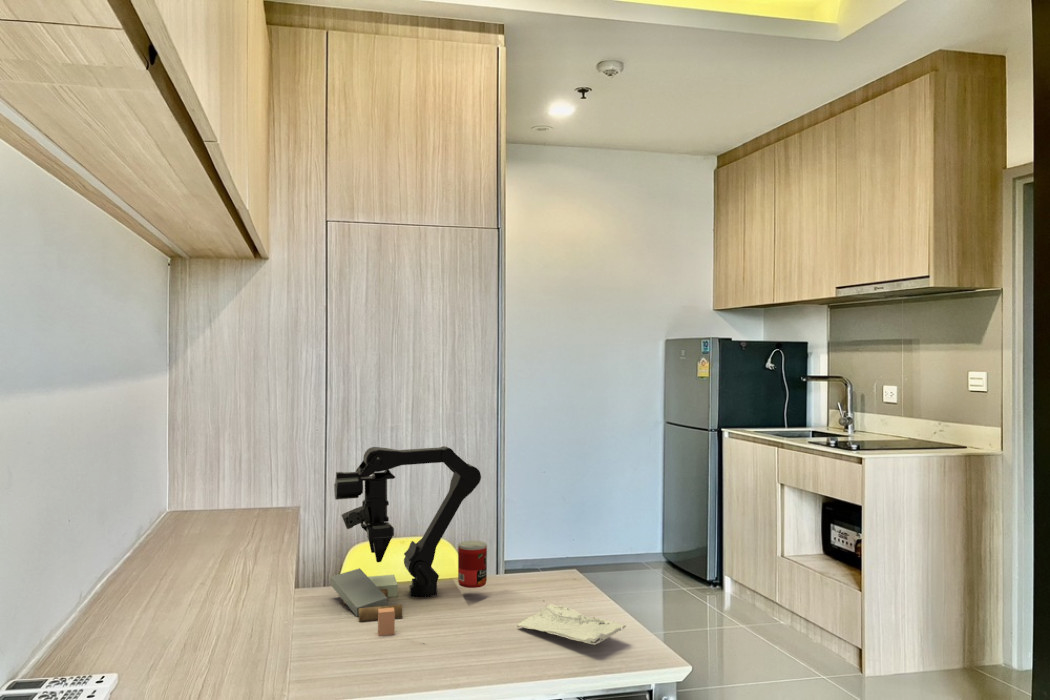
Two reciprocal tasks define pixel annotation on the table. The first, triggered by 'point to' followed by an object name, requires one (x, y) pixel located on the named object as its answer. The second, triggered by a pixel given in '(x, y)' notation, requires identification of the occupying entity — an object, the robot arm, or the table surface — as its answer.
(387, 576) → the block
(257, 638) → the table surface
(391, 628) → the orange upright block
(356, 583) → the slab
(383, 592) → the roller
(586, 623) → the terrain model
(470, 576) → the canned food
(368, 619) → the roller
